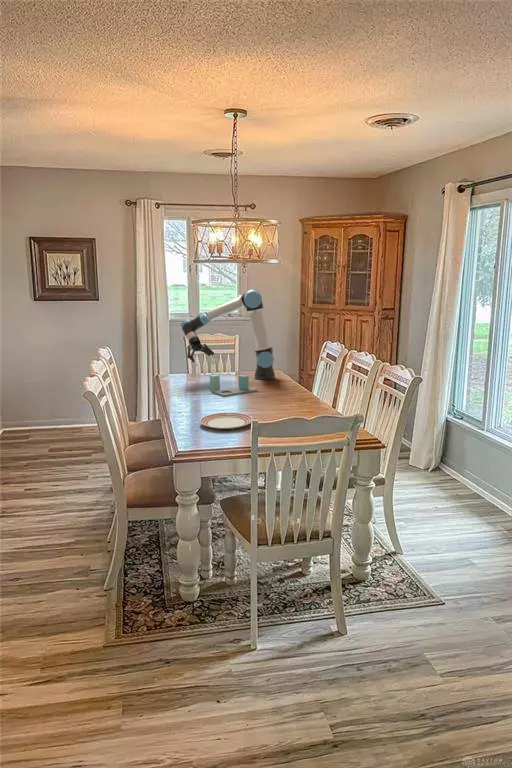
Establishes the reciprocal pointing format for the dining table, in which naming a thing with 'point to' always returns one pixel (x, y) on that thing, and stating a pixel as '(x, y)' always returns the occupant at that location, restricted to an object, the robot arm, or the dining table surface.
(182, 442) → the dining table surface
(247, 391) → the grey slotted board
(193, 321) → the robot arm
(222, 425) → the dinner plate
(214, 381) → the cylinder
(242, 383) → the block
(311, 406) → the dining table surface
